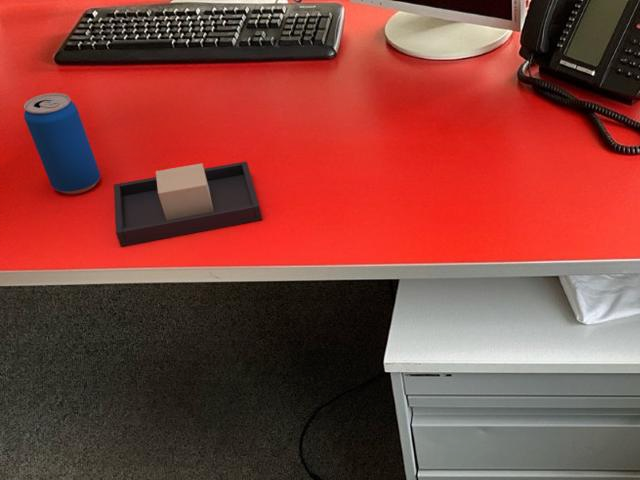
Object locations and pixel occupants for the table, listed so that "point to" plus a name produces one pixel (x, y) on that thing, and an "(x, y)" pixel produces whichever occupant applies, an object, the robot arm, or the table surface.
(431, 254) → the table surface
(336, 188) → the table surface
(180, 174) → the pad
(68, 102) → the beverage can
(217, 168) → the tray
